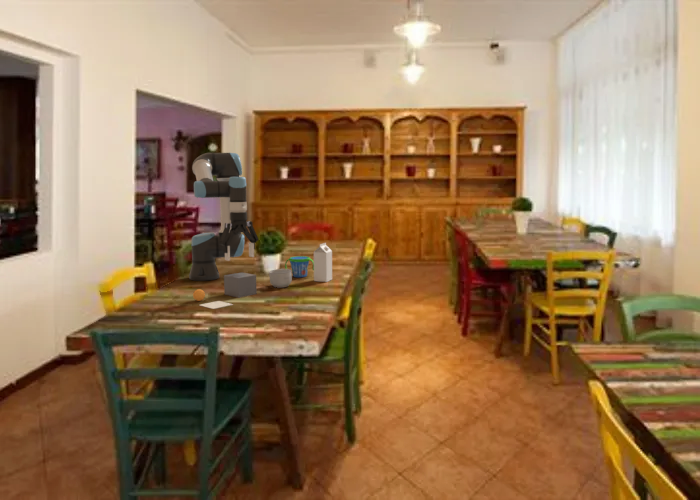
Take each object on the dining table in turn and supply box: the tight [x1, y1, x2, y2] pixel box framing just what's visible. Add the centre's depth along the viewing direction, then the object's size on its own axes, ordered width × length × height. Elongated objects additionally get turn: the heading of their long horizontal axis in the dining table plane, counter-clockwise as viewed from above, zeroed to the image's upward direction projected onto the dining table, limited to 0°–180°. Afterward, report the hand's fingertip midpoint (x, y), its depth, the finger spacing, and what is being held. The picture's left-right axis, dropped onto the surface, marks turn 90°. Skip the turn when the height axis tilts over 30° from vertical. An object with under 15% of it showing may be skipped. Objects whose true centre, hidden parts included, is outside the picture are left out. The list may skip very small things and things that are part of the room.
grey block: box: [223, 272, 258, 299], centre depth 264 cm, size 10×10×9 cm
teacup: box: [268, 268, 293, 289], centre depth 282 cm, size 14×11×8 cm
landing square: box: [199, 300, 234, 310], centre depth 243 cm, size 10×10×1 cm
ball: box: [192, 288, 206, 302], centre depth 251 cm, size 5×5×5 cm
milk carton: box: [313, 242, 333, 283], centre depth 295 cm, size 7×7×19 cm
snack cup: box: [284, 255, 314, 278], centre depth 306 cm, size 16×10×10 cm
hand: (239, 258), depth 262 cm, fingers open, 13 cm apart
